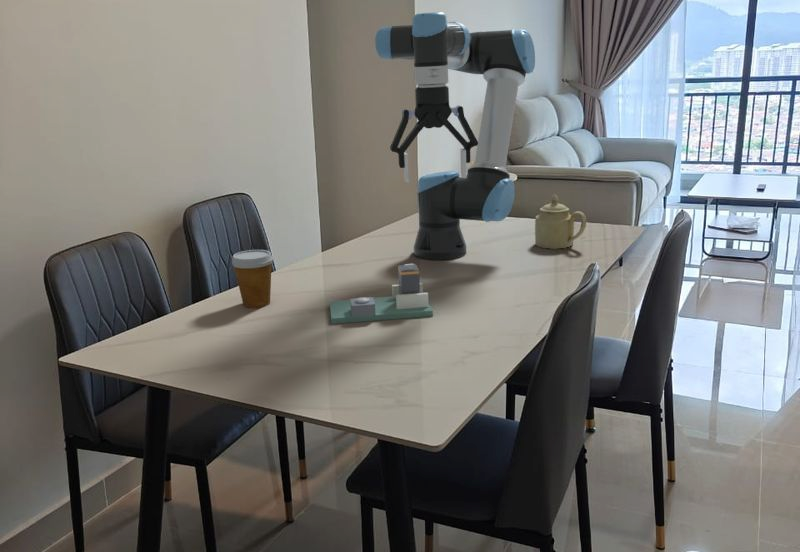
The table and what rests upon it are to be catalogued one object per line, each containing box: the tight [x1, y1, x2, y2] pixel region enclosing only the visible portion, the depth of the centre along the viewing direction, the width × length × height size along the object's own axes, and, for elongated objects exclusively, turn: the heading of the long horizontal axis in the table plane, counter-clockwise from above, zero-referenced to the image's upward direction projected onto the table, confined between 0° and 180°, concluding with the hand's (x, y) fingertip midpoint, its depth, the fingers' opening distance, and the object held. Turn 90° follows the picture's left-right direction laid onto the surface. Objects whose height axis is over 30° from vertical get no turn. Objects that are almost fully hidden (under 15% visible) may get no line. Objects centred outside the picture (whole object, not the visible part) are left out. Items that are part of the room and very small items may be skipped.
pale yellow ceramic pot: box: [534, 194, 587, 250], centre depth 208 cm, size 15×11×15 cm
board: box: [329, 282, 434, 325], centre depth 159 cm, size 12×22×4 cm, turn 97°
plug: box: [397, 263, 421, 295], centre depth 160 cm, size 5×4×9 cm
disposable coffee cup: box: [231, 249, 274, 309], centre depth 166 cm, size 10×10×12 cm
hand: (435, 179), depth 167 cm, fingers open, 13 cm apart
